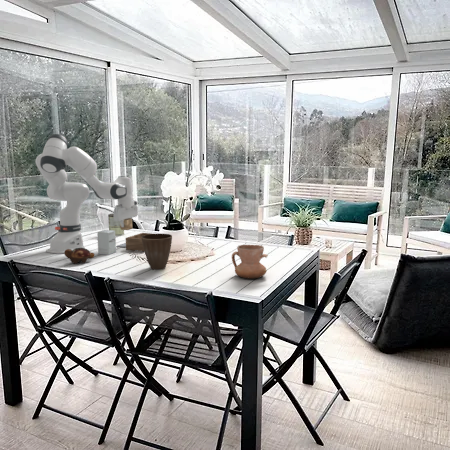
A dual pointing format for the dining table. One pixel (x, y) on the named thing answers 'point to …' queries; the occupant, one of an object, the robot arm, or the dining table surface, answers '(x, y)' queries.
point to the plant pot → (157, 249)
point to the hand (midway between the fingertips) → (126, 226)
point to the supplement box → (106, 242)
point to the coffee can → (115, 225)
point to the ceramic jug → (249, 261)
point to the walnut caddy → (135, 242)
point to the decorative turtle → (78, 255)
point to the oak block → (127, 224)
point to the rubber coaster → (122, 245)
